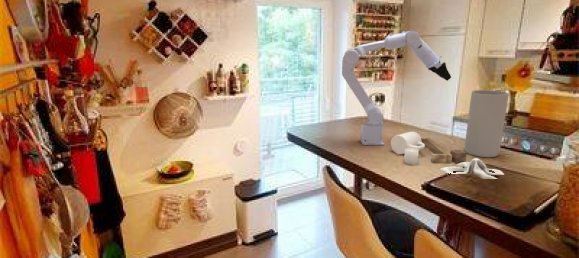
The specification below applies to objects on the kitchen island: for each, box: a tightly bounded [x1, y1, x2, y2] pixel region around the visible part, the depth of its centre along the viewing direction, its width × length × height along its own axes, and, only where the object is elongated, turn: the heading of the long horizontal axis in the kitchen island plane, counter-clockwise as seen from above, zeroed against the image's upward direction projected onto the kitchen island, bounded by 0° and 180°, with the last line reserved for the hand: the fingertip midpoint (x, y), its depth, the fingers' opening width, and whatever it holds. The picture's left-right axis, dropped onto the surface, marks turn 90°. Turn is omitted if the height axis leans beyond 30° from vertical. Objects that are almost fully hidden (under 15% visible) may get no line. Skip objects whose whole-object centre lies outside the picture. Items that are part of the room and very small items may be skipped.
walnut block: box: [449, 149, 468, 164], centre depth 125 cm, size 4×4×4 cm
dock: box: [421, 137, 452, 164], centre depth 135 cm, size 7×23×3 cm, turn 178°
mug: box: [390, 131, 426, 155], centre depth 135 cm, size 12×10×8 cm
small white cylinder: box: [403, 148, 420, 166], centre depth 124 cm, size 5×5×5 cm
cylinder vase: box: [463, 89, 510, 158], centre depth 131 cm, size 12×12×25 cm
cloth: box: [439, 157, 505, 179], centre depth 112 cm, size 22×19×6 cm
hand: (446, 77), depth 137 cm, fingers open, 7 cm apart
